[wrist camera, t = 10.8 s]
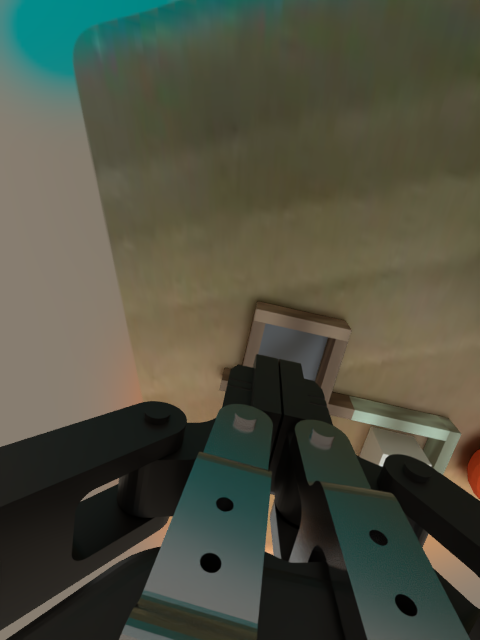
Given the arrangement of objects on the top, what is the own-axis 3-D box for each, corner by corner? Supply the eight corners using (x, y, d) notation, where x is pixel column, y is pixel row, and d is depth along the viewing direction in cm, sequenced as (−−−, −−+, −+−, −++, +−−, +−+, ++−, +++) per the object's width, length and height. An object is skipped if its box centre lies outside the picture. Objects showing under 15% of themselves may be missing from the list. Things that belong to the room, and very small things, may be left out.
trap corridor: (477, 350, 40) (494, 362, 37) (402, 522, 47) (411, 543, 44) (240, 297, 40) (238, 304, 37) (200, 477, 47) (196, 495, 44)
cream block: (413, 435, 43) (431, 465, 39) (398, 471, 45) (413, 503, 40) (370, 425, 43) (383, 453, 39) (356, 461, 45) (367, 493, 40)
